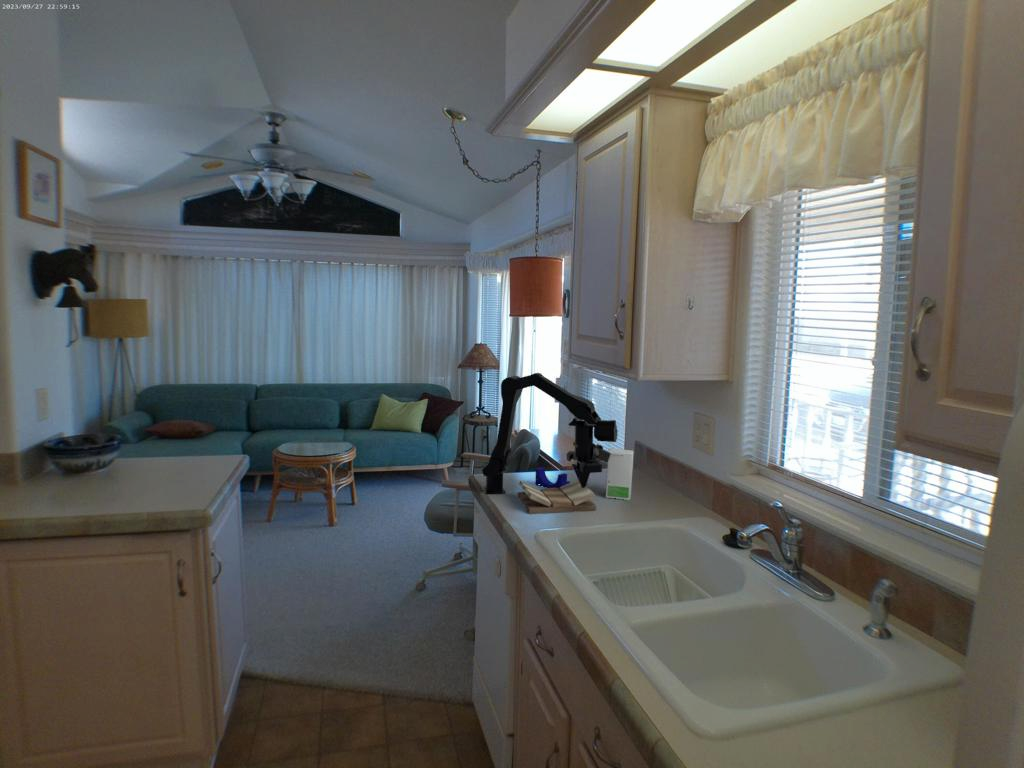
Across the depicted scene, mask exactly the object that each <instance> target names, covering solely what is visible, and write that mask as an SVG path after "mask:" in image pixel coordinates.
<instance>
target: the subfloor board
mask: <svg viewBox="0 0 1024 768" xmlns="http://www.w3.org/2000/svg"><path fill="white" fill-rule="evenodd" d="M516 496H518V497H517V498H518V500H519V499H520V500H519V501H520V502H521V504H522V506H525V507H524V508H525V509H527V510H526V511H527V512H528V514H529V515H539V514H560V513H575V511H576V513H578V512H577V511H582V512H595V510H596V511H597V505H596V504H595V503H594V502H592V501H591V499H589V500H587V501H585V502H582V503H580V504H578V505H574V504H573V503H572V506H566V507H552V505H550V507H549V506H547V505H544V504H542V503H540V502H537V501H535V500H533V499H530V498H529V497H528V495H527V494H526V493H525V491H517V495H516Z"/></svg>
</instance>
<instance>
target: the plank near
mask: <svg viewBox="0 0 1024 768" xmlns="http://www.w3.org/2000/svg"><path fill="white" fill-rule="evenodd" d="M518 485H519V486H520V487H521V489H522V490H523V492H525V493H526V494H527V495H528V497H529V498H530V499H533V500H535V501H537V502H540V503H542V504H544V505H547V506H549V507H550V505H551V502H550V501H549V500H548V499H547V497H546V496H545V495H544V494H543V493H542V491H541V490H540V488H539V487H537V486H535V485H532V484H530V483H528V482H525V481H522V480H519V482H518Z"/></svg>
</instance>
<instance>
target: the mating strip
mask: <svg viewBox="0 0 1024 768" xmlns="http://www.w3.org/2000/svg"><path fill="white" fill-rule="evenodd" d="M539 489H540V490H541V491H542V493H543V494H544V495H545V496H546V497H547V499H548V500H549V501H550V502H551V505H552V507H566V506H572V502H571V501H570V500H569V499H568V498H567V497H566V496H565V495H564V494H563V493H562V492H561V490H560V489H559V488H545V487H541V488H539Z"/></svg>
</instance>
